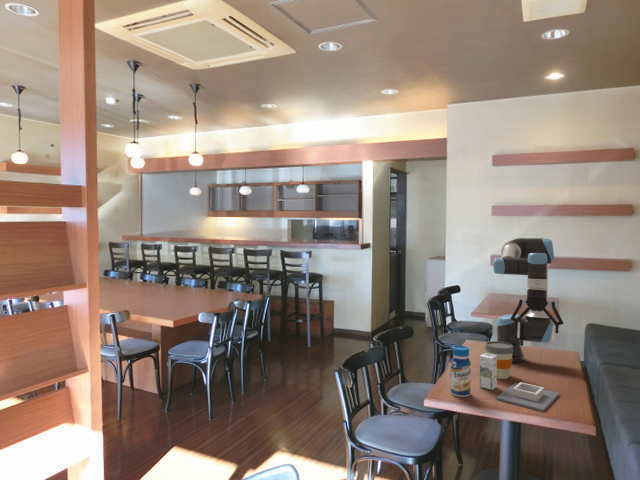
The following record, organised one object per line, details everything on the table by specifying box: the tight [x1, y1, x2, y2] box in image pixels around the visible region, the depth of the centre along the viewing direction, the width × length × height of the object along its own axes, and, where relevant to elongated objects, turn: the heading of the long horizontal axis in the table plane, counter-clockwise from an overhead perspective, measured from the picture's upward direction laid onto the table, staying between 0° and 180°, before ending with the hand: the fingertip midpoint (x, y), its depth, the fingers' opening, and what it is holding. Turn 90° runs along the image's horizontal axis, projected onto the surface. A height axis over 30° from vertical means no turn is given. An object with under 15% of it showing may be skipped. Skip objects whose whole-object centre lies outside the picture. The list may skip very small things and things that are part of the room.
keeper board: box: [496, 381, 560, 413], centre depth 188 cm, size 22×18×4 cm
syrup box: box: [479, 352, 498, 391], centre depth 199 cm, size 6×6×14 cm
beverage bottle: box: [449, 345, 472, 398], centre depth 192 cm, size 8×8×20 cm
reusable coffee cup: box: [484, 340, 513, 380], centre depth 213 cm, size 13×12×15 cm
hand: (536, 339), depth 190 cm, fingers open, 13 cm apart
